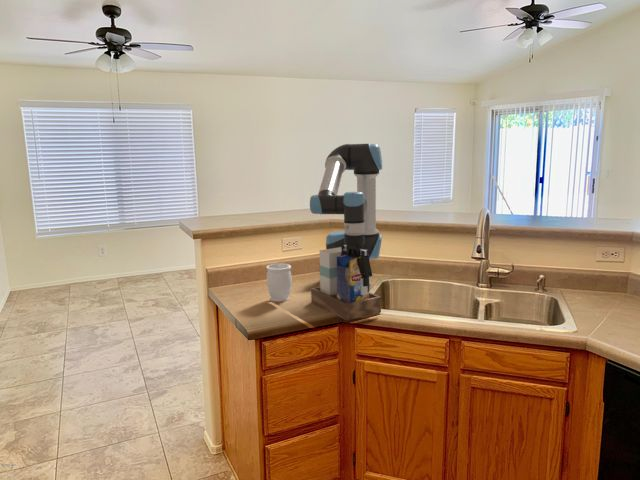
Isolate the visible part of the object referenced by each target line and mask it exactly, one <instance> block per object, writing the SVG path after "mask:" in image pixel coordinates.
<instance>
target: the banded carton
mask: <svg viewBox="0 0 640 480" xmlns="http://www.w3.org/2000/svg"><path fill="white" fill-rule="evenodd" d="M338 256H341V247H339V248H332V249H326V248H325V249H320V250H319V287H320V291H321V292H323V293H325V294H328V295H333V294H337V257H338Z"/></svg>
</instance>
